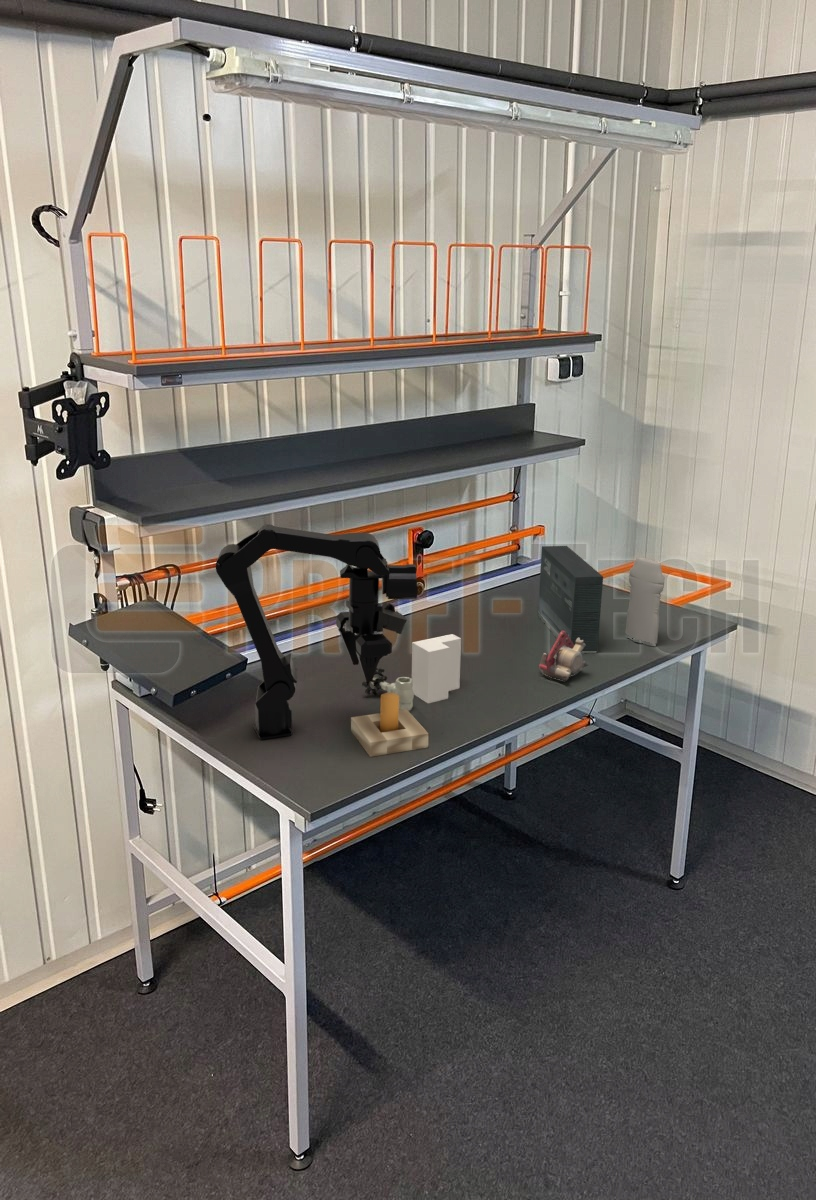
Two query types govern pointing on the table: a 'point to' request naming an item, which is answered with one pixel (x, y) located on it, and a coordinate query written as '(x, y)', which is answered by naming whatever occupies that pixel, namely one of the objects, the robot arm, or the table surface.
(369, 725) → the socket block
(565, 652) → the brake caliper
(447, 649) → the corner bracket
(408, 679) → the valve
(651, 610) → the tall pale column
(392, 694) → the peg
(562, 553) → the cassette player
